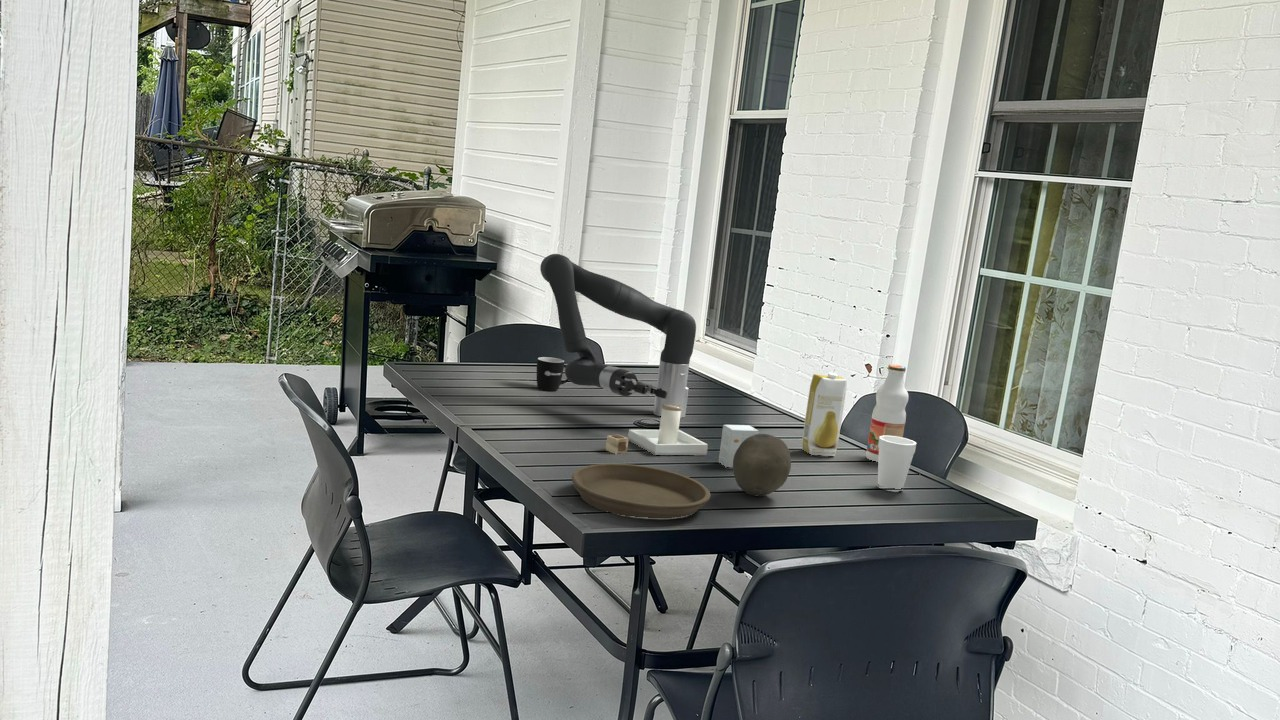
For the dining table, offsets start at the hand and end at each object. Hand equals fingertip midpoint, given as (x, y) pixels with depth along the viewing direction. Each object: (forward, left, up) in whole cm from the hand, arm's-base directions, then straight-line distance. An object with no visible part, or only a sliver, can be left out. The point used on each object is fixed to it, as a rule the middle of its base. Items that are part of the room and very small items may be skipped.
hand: (656, 393), depth 288 cm
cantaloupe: (0, +55, -13) cm, 57 cm away
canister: (+1, +12, -12) cm, 17 cm away
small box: (-10, +30, -13) cm, 34 cm away
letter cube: (+18, +15, -13) cm, 27 cm away
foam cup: (-43, +53, -13) cm, 69 cm away
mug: (+5, -60, -13) cm, 61 cm away
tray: (+1, +12, -13) cm, 18 cm away
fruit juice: (-62, +28, -13) cm, 69 cm away
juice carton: (-45, +20, -13) cm, 51 cm away
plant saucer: (+32, +55, -13) cm, 65 cm away
